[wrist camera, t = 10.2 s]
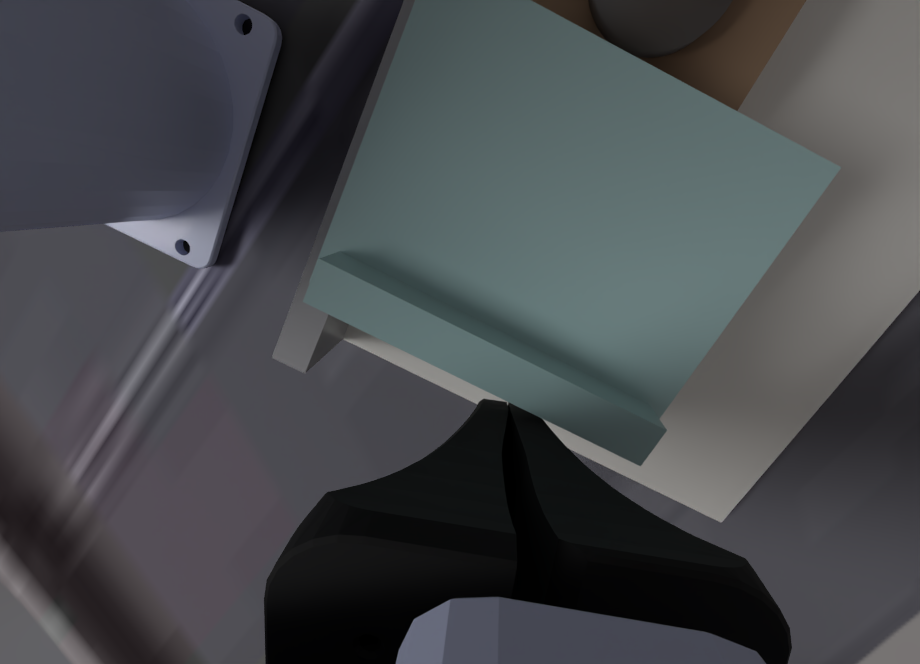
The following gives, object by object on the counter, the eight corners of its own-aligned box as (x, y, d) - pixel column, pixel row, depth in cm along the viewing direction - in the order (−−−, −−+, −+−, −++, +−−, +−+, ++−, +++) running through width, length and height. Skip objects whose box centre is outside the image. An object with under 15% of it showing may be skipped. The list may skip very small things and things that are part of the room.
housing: (322, 322, 16) (271, 357, 12) (555, -263, 11) (578, -473, 7) (715, 513, 17) (769, 596, 13) (1103, 51, 12) (1353, -9, 8)
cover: (321, 275, 11) (285, 292, 9) (440, -31, 9) (423, -91, 7) (631, 428, 12) (656, 474, 10) (814, 169, 10) (891, 163, 8)
